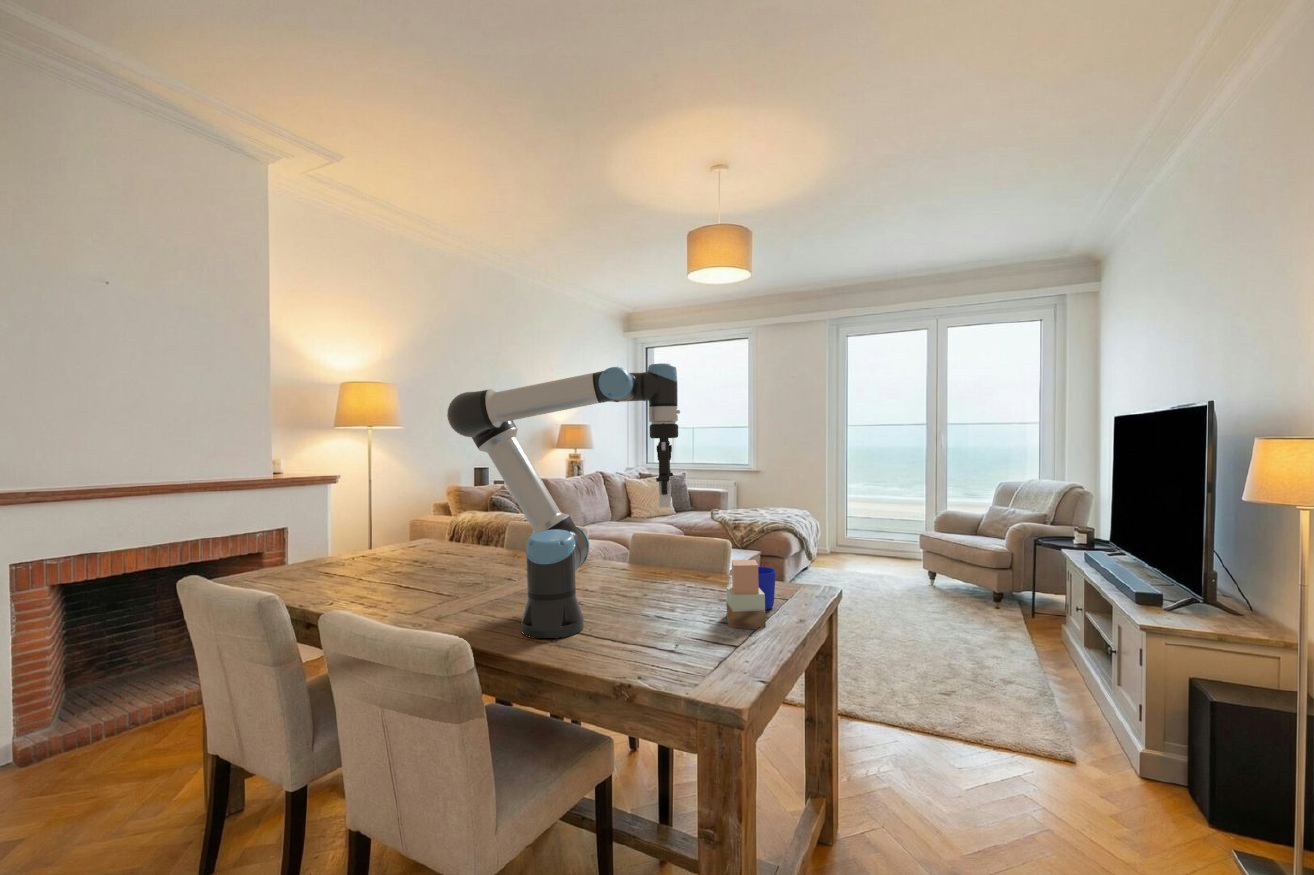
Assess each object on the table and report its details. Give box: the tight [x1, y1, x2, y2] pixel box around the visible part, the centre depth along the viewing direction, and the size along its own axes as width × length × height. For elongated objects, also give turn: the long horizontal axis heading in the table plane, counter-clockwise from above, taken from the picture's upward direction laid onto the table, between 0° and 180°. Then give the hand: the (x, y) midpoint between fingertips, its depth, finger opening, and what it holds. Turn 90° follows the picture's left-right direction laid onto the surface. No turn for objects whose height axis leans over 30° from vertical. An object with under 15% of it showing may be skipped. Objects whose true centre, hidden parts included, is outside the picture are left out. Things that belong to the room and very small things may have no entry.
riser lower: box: [726, 600, 767, 628], centre depth 150 cm, size 9×9×4 cm
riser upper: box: [725, 586, 766, 612], centre depth 150 cm, size 8×8×4 cm
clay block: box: [731, 559, 759, 594], centre depth 150 cm, size 6×6×7 cm
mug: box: [758, 566, 777, 611], centre depth 163 cm, size 8×12×10 cm
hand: (665, 504), depth 157 cm, fingers open, 13 cm apart
